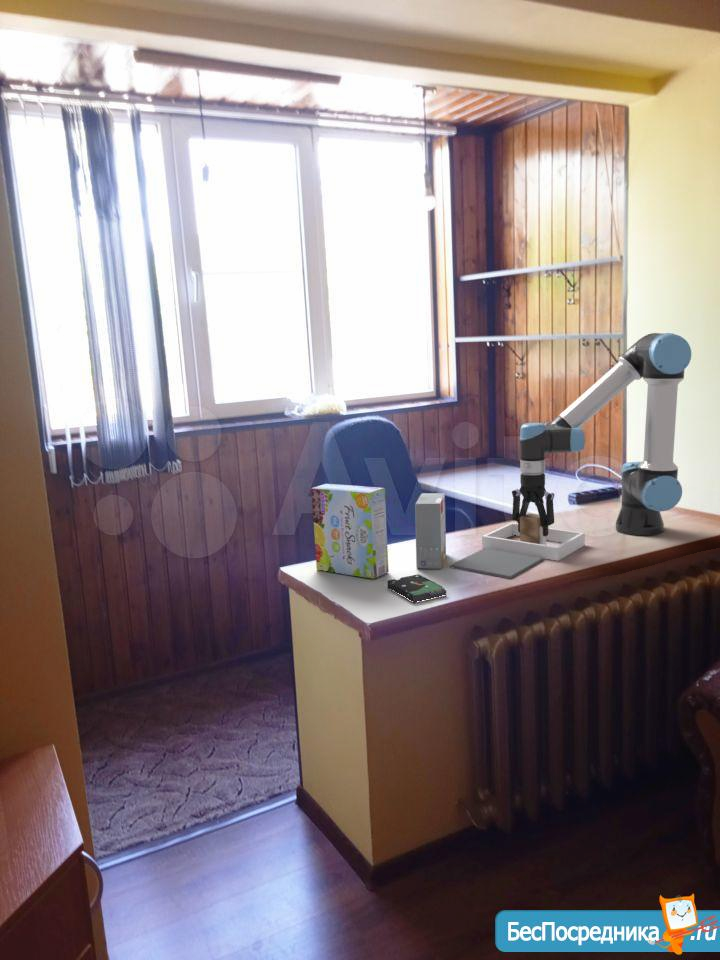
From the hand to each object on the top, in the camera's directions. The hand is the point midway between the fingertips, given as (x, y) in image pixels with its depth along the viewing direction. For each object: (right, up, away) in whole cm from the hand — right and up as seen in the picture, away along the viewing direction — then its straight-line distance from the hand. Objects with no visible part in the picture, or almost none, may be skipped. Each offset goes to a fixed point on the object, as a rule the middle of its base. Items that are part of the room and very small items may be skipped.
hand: (533, 543), depth 242 cm
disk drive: (-40, -11, -35) cm, 54 cm away
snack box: (-57, -7, -15) cm, 60 cm away
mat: (-14, -5, -15) cm, 21 cm away
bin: (0, -1, 0) cm, 1 cm away
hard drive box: (-33, -5, -9) cm, 35 cm away
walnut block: (0, -1, 0) cm, 1 cm away
